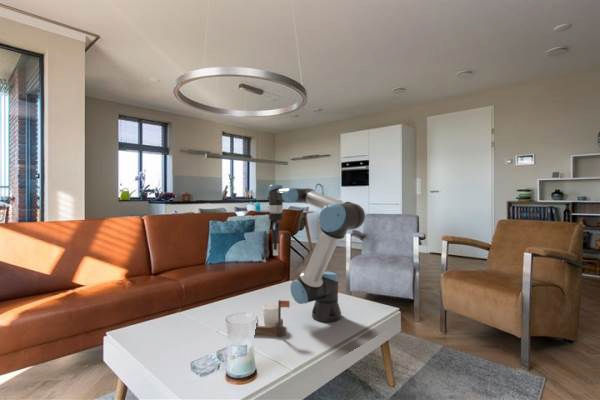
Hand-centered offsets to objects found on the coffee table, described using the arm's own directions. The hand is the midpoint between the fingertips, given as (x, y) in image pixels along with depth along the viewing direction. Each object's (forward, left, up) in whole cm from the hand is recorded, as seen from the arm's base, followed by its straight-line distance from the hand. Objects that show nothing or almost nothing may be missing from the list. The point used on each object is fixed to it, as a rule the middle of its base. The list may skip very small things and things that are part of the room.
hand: (275, 255), depth 178 cm
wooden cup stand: (-12, +28, -29) cm, 42 cm away
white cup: (-11, +24, -30) cm, 40 cm away
